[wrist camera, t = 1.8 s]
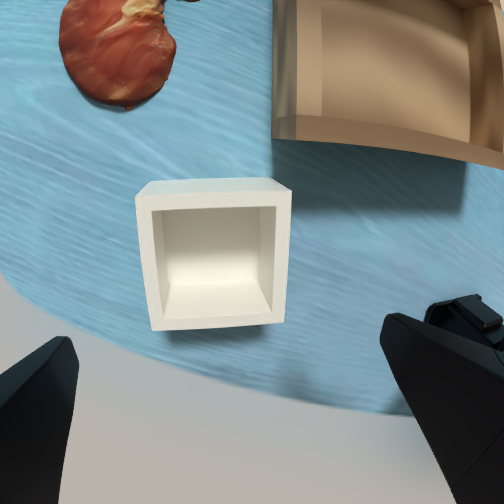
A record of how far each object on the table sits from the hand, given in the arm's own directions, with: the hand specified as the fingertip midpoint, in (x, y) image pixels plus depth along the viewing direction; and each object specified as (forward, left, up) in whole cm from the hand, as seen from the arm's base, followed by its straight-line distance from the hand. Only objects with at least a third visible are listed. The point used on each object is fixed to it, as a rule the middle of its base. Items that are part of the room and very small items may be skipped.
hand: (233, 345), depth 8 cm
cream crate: (0, 0, -9) cm, 9 cm away
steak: (+13, +4, -10) cm, 17 cm away
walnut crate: (+11, -10, -9) cm, 17 cm away
